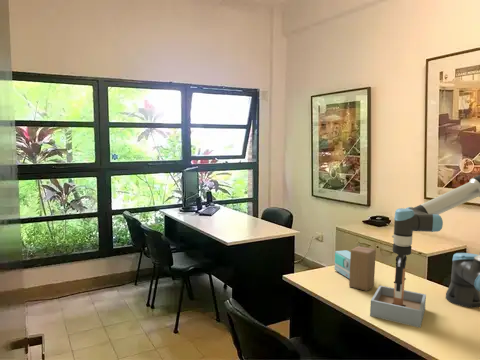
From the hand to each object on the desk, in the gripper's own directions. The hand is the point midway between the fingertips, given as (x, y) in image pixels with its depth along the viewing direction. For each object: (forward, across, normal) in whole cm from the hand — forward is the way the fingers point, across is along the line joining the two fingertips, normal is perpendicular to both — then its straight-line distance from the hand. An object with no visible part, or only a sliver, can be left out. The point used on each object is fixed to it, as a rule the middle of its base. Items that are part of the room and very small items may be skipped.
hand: (398, 295), depth 170 cm
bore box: (+8, 0, 0) cm, 8 cm away
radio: (+8, -35, -32) cm, 48 cm away
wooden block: (+8, -22, -21) cm, 31 cm away
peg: (+4, 0, 0) cm, 4 cm away
